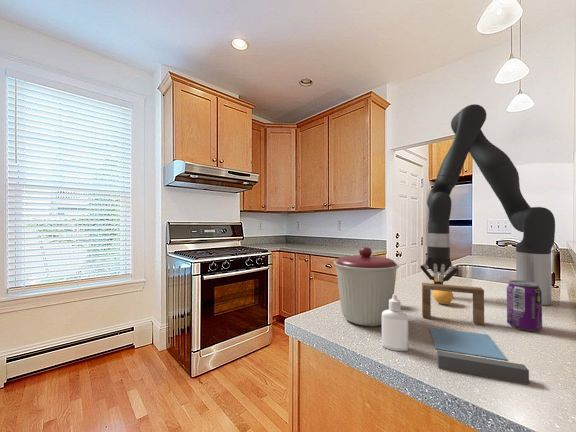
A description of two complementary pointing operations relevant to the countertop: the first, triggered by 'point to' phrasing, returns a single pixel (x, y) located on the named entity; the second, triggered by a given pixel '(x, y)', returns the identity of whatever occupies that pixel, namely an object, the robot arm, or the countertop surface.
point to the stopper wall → (483, 367)
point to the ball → (443, 296)
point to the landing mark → (465, 343)
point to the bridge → (477, 291)
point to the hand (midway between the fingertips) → (438, 291)
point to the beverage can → (524, 305)
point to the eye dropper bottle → (394, 327)
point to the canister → (365, 286)
